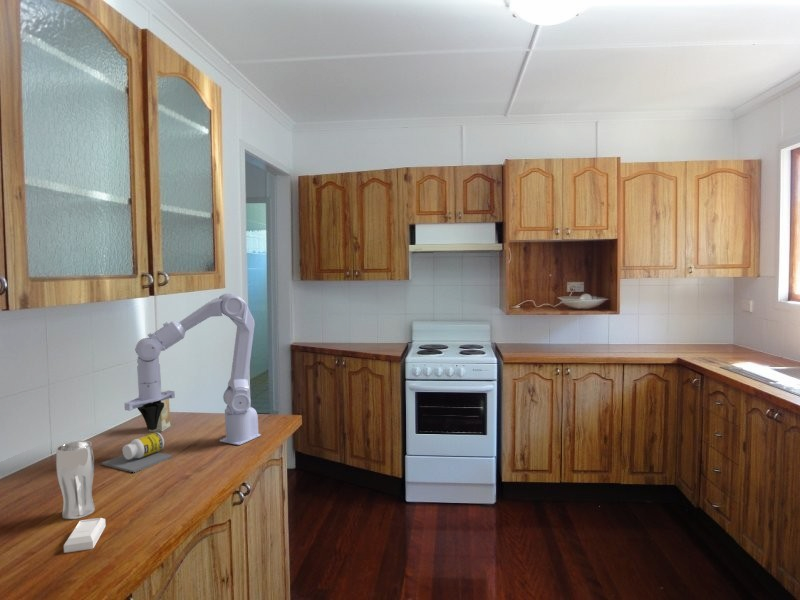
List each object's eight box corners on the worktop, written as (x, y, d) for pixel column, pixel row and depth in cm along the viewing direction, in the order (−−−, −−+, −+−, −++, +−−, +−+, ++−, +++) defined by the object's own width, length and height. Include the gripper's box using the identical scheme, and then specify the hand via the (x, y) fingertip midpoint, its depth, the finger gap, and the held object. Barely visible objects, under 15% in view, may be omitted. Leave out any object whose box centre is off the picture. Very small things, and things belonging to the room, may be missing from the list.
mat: (141, 450, 154) (141, 448, 154) (172, 457, 148) (172, 455, 148) (101, 464, 144) (101, 462, 144) (133, 473, 138) (133, 470, 138)
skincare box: (162, 432, 170) (160, 394, 169) (148, 432, 170) (146, 394, 169) (171, 425, 176) (169, 389, 175) (158, 426, 176) (156, 389, 176)
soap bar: (64, 554, 101) (63, 541, 101) (79, 531, 109) (78, 518, 109) (93, 550, 102) (92, 537, 102) (105, 527, 111) (105, 515, 110)
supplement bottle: (167, 447, 151) (135, 460, 142) (155, 452, 153) (124, 464, 145) (161, 429, 151) (129, 440, 142) (150, 433, 154) (118, 445, 145)
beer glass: (73, 505, 120) (68, 440, 119) (103, 505, 120) (99, 440, 119) (52, 520, 113) (47, 451, 112) (84, 520, 113) (79, 451, 112)
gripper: (161, 374, 157) (164, 420, 158) (116, 385, 144) (119, 434, 145) (178, 376, 154) (181, 423, 155) (133, 388, 141) (136, 438, 142)
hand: (152, 429), depth 150 cm, fingers closed
